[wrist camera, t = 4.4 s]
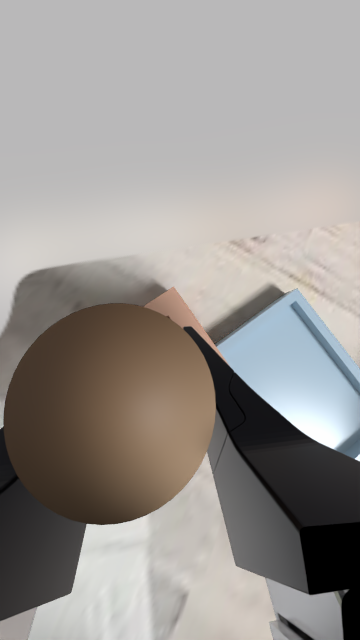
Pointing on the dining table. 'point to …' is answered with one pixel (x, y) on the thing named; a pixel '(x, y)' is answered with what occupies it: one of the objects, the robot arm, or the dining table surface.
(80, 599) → the dining table surface
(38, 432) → the peg
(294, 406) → the tray
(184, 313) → the holder
